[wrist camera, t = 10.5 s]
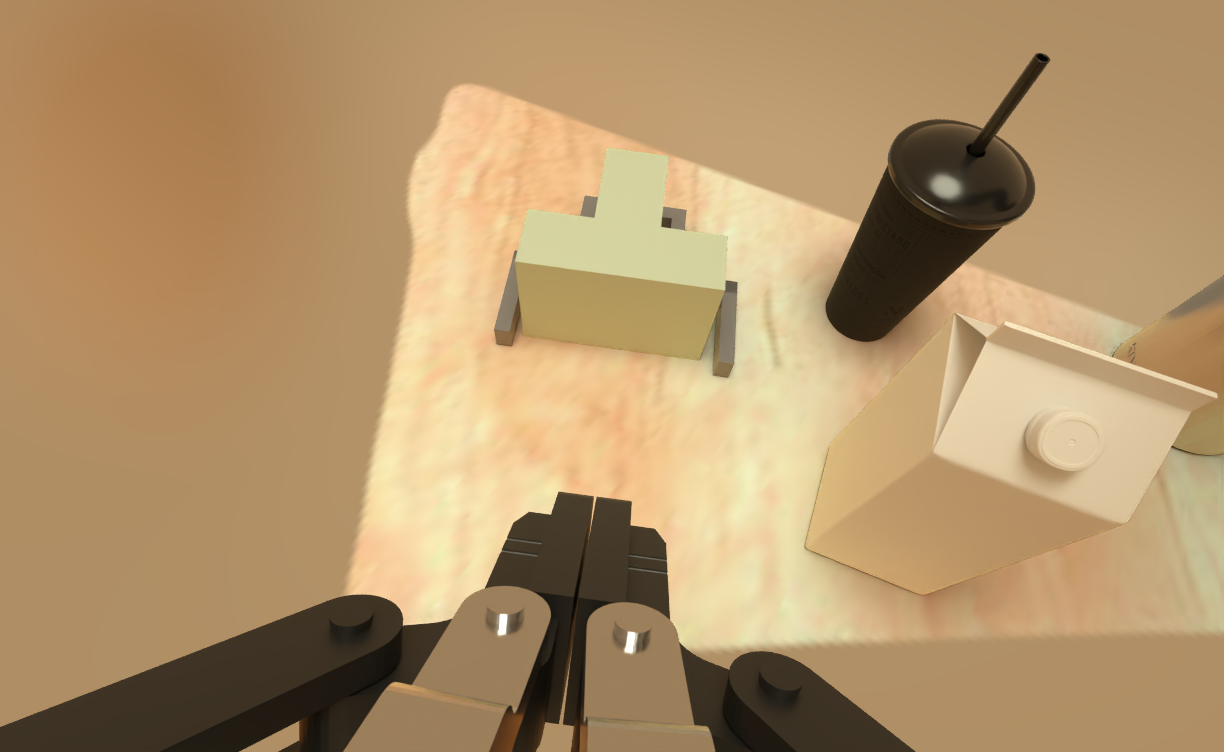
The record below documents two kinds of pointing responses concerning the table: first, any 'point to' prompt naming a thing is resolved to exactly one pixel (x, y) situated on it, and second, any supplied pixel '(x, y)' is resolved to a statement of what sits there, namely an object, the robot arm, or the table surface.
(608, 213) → the t block
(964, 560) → the milk carton
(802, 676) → the robot arm
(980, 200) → the drinking cup
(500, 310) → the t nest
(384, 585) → the table surface
